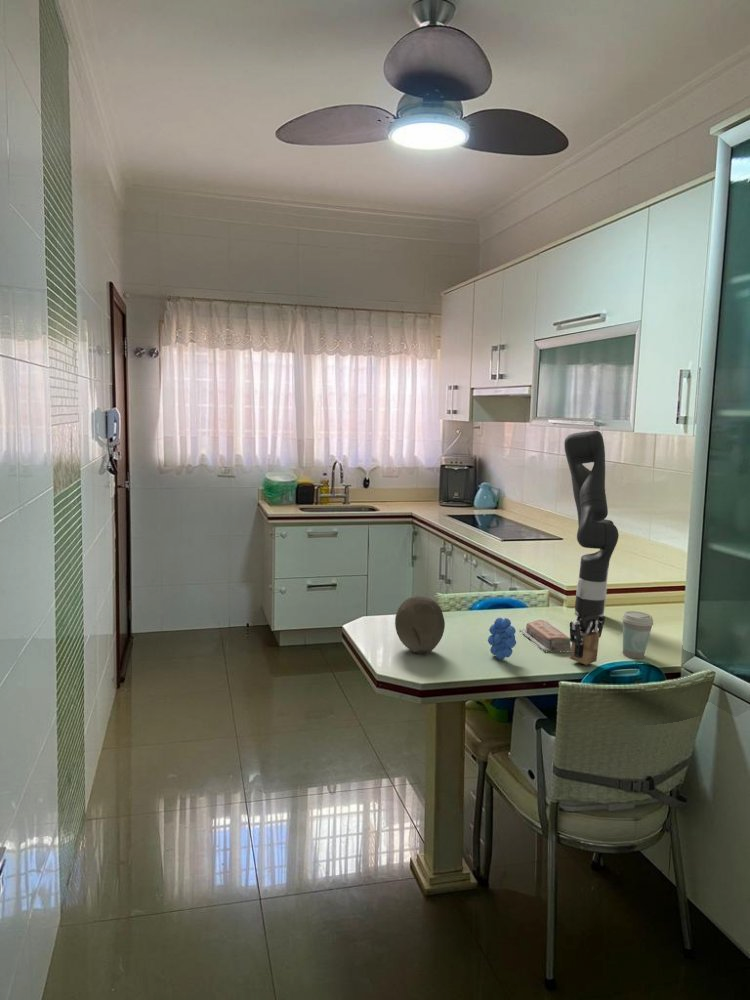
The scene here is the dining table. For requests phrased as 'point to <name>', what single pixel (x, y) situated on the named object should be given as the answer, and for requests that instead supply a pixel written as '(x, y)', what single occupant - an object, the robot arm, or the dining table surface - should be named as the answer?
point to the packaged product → (547, 636)
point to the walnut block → (587, 648)
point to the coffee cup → (636, 633)
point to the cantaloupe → (420, 624)
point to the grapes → (502, 638)
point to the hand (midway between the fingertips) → (583, 654)
